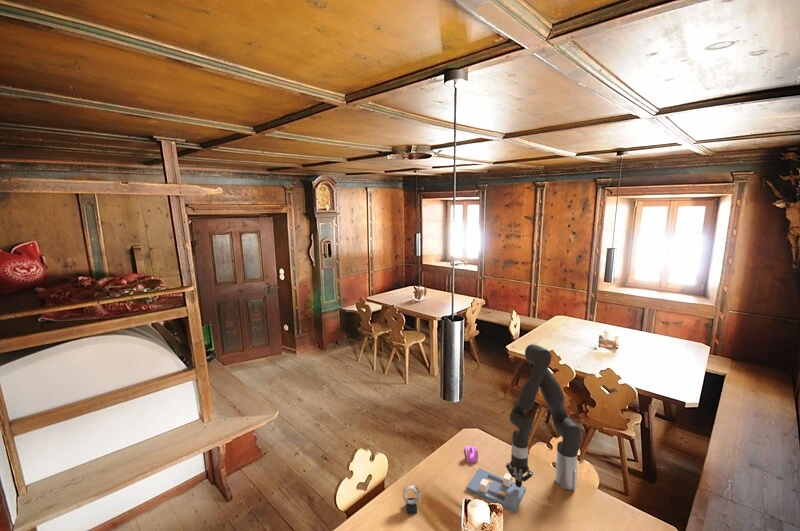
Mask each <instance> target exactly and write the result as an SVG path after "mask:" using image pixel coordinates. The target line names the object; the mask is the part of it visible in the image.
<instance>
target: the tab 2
mask: <svg viewBox="0 0 800 531" xmlns="http://www.w3.org/2000/svg"><path fill="white" fill-rule="evenodd" d="M502 478H503V485H505V486H507V487H510V485H511V483H512V482H513V477H512V476H511V474H510V473H508V472H505V474H504V475H503V477H502Z"/></svg>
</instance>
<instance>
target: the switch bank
mask: <svg viewBox="0 0 800 531" xmlns="http://www.w3.org/2000/svg"><path fill="white" fill-rule="evenodd" d="M482 479H486V480H488V481H489V489H488V490H487V492H486V493H484V492H482V491H480V482H481V481H482ZM465 490H466V492H469V493H471V494H473V495H475V496H477V497H480V498H482V499H483V500H485V501H488V502H491V503H492V502H493V503H492V504H494V503H499V504H501V505H502V506H503V507H502V509H506V510H508V511H510V512H512V513H514V514H517V511H518V509H519V507H520V504H521V503H522V500H523V498H524V496H525V494H526V490H527V488H526V486H523V485H522V486H521V487H520V488H519V487H517V485H516V484H515V482H514V481H512V483H511V485H510V487H507V486H505V485H503V477H502V476H499V475H497V474H495V473H492V472H490V471H487V470H485V469H483V468H481V467H479V468H478V469H477V470H476V472H475V473H474V475H473V476H472V477H471V479H470V480H469V482H468V484H467V485H466V487H465Z"/></svg>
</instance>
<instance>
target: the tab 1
mask: <svg viewBox="0 0 800 531" xmlns="http://www.w3.org/2000/svg"><path fill="white" fill-rule="evenodd" d="M488 489H489V481H488V480H486V479H482V481H481V482H480V491H482V492H484V493H486V492H487V490H488Z"/></svg>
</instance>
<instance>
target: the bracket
mask: <svg viewBox="0 0 800 531" xmlns="http://www.w3.org/2000/svg"><path fill="white" fill-rule="evenodd" d="M464 452H465V456H466V461H467V463H479V450H478V448H477V447H475V446H474V445H470V444H468V445H466V446H465V447H464Z"/></svg>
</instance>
